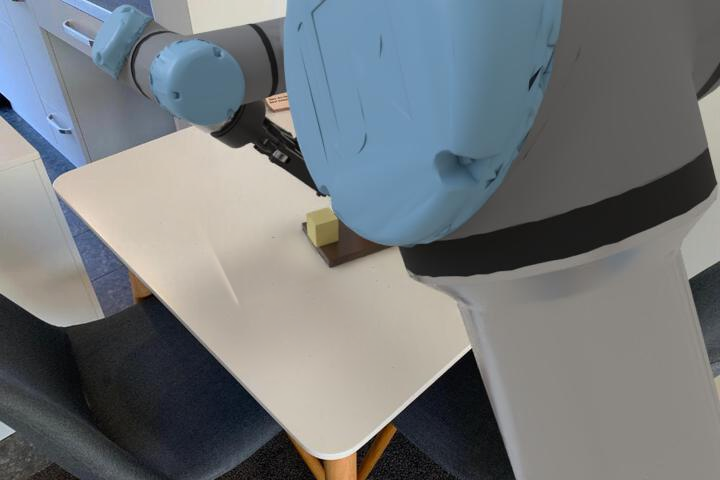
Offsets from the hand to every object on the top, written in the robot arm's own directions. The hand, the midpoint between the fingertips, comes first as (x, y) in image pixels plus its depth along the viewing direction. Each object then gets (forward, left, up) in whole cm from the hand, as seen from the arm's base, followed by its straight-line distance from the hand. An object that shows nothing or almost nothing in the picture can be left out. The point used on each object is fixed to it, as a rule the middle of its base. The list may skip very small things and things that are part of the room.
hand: (339, 184), depth 81 cm
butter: (-2, +2, -9) cm, 10 cm away
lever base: (+6, -4, -11) cm, 13 cm away
